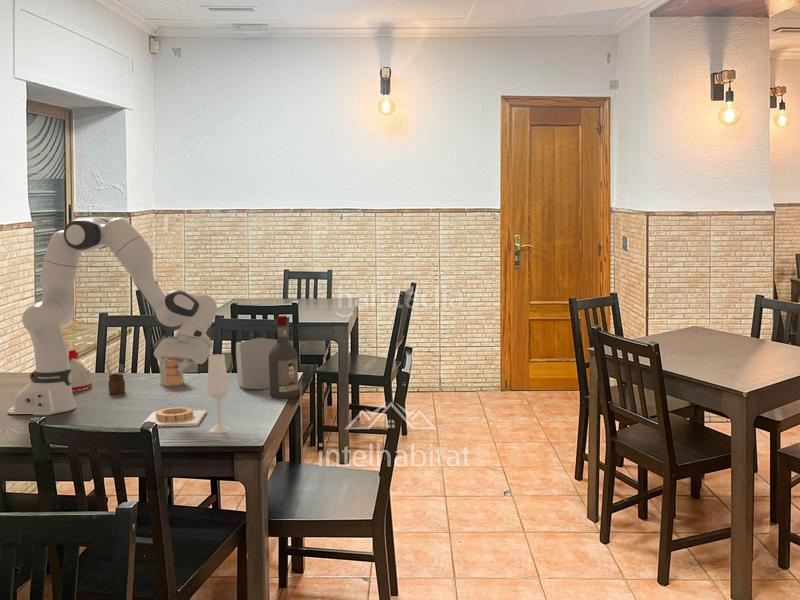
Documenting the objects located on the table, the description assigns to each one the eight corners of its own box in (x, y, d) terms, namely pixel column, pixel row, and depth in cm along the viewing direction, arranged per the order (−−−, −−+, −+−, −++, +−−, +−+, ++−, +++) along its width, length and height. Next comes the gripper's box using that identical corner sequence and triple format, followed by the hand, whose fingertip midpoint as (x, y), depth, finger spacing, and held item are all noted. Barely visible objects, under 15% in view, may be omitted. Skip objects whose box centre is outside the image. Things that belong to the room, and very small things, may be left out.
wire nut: (163, 385, 294) (162, 361, 293) (167, 382, 299) (165, 359, 298) (179, 385, 294) (178, 361, 293) (182, 382, 299) (181, 358, 298)
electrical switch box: (272, 386, 359) (269, 336, 360) (280, 387, 345) (277, 336, 346) (236, 389, 354) (232, 339, 355) (243, 391, 340) (239, 339, 341)
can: (188, 382, 359) (187, 353, 358) (171, 386, 351) (170, 356, 350) (172, 380, 364) (171, 351, 363) (155, 384, 356) (153, 354, 355)
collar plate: (141, 427, 288) (140, 418, 288) (153, 414, 306) (153, 405, 306) (197, 426, 289) (197, 417, 289) (206, 412, 307) (206, 404, 307)
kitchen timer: (98, 384, 358) (96, 347, 357) (80, 392, 345) (78, 353, 343) (66, 384, 361) (64, 347, 359) (47, 391, 347) (45, 353, 346)
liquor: (266, 397, 330) (264, 316, 327) (286, 392, 337) (283, 314, 333) (282, 400, 324) (280, 318, 320) (301, 396, 330) (299, 315, 327)
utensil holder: (125, 393, 340) (123, 362, 339) (107, 395, 338) (106, 363, 337) (125, 390, 346) (123, 360, 344) (108, 392, 344) (106, 361, 342)
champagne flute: (211, 427, 287) (208, 353, 284) (232, 427, 287) (229, 353, 284) (206, 433, 281) (203, 357, 278) (227, 432, 280) (224, 357, 278)
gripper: (161, 330, 305) (142, 363, 298) (208, 333, 296) (190, 367, 288) (170, 341, 310) (152, 374, 302) (217, 344, 300) (200, 378, 293)
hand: (171, 371), depth 295 cm, fingers closed on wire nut, 4 cm apart
